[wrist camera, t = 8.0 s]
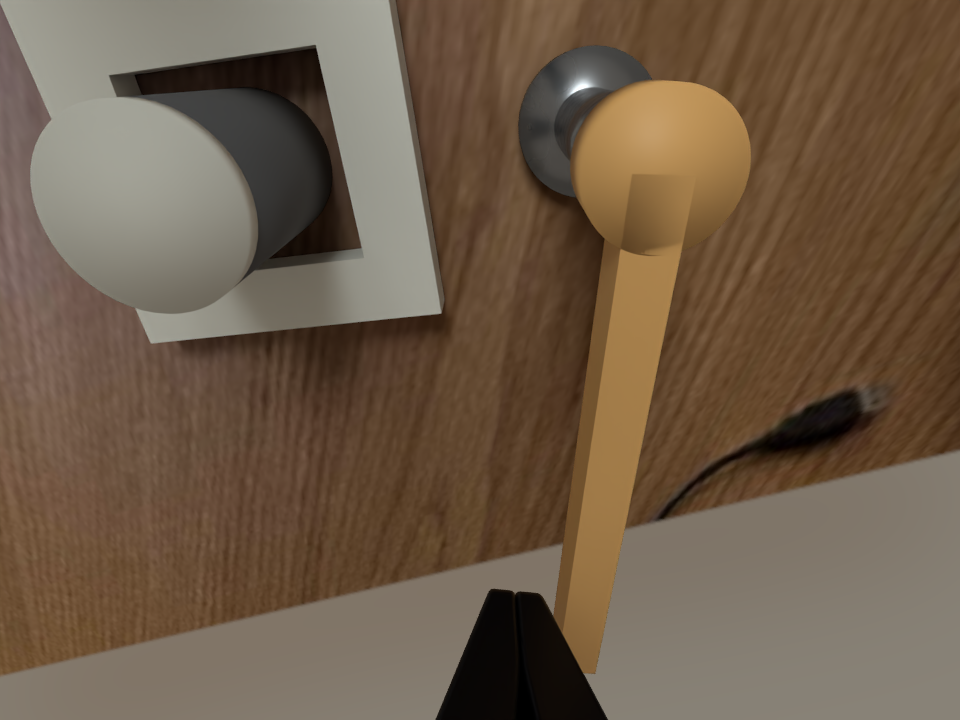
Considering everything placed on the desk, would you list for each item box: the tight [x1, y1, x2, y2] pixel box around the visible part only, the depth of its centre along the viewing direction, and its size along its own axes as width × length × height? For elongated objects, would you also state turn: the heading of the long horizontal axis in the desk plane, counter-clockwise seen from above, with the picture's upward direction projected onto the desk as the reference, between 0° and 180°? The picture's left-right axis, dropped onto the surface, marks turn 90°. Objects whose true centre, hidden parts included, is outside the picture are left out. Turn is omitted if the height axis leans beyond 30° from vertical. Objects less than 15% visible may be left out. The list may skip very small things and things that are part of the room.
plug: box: [30, 87, 332, 314], centre depth 14 cm, size 4×4×6 cm
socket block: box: [0, 0, 445, 343], centre depth 17 cm, size 10×10×1 cm
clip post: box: [518, 46, 652, 197], centre depth 13 cm, size 4×4×7 cm
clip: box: [553, 80, 751, 674], centre depth 12 cm, size 3×14×1 cm, turn 178°
